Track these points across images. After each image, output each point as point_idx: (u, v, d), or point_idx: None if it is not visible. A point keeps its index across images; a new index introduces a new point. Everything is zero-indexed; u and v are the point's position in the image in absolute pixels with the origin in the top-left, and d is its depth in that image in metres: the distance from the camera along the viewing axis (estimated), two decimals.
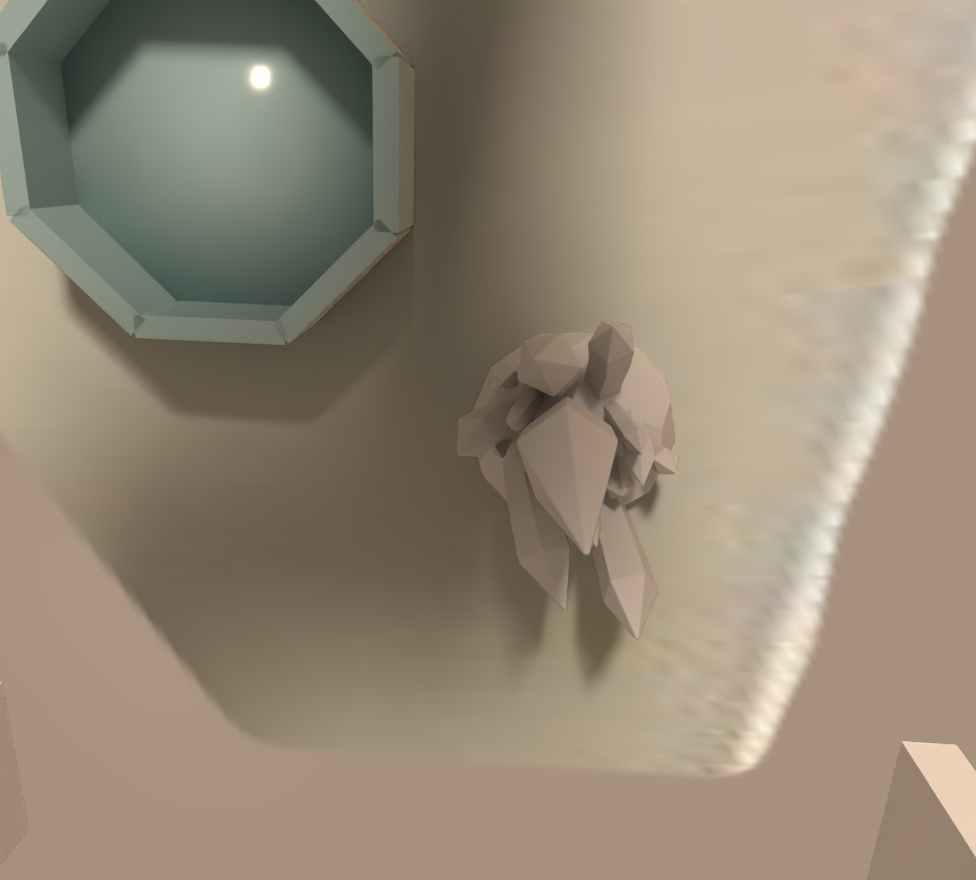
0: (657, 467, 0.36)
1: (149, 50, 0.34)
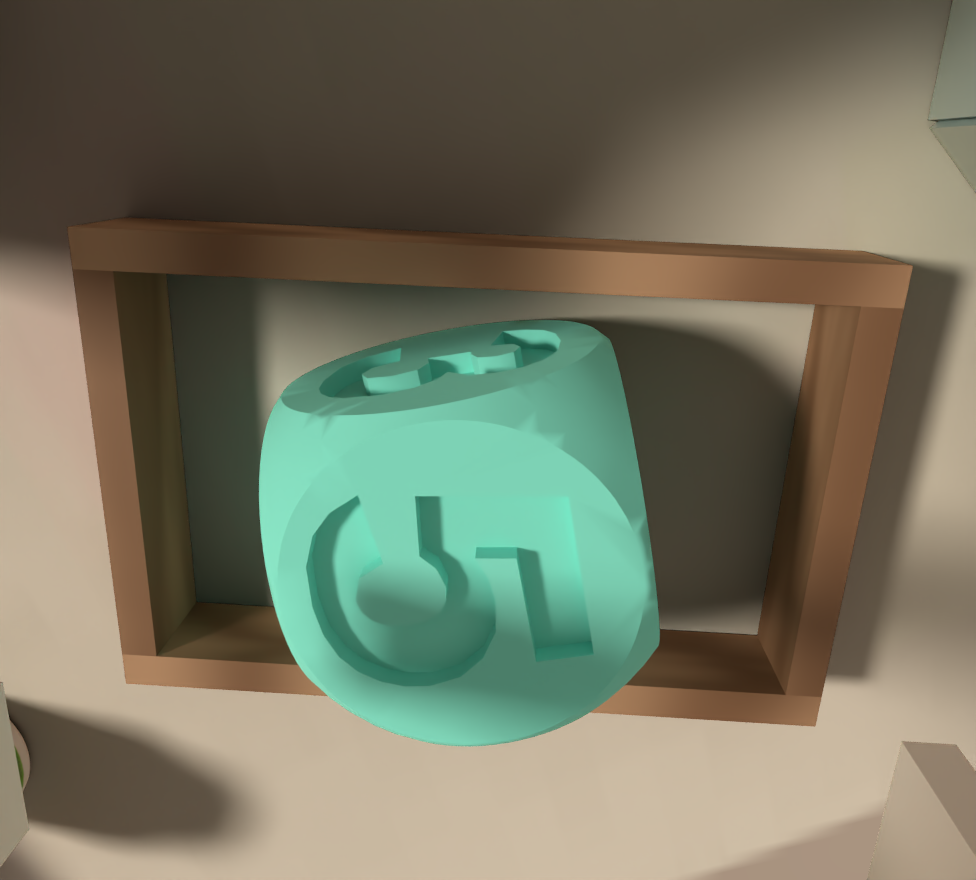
0: None
1: None
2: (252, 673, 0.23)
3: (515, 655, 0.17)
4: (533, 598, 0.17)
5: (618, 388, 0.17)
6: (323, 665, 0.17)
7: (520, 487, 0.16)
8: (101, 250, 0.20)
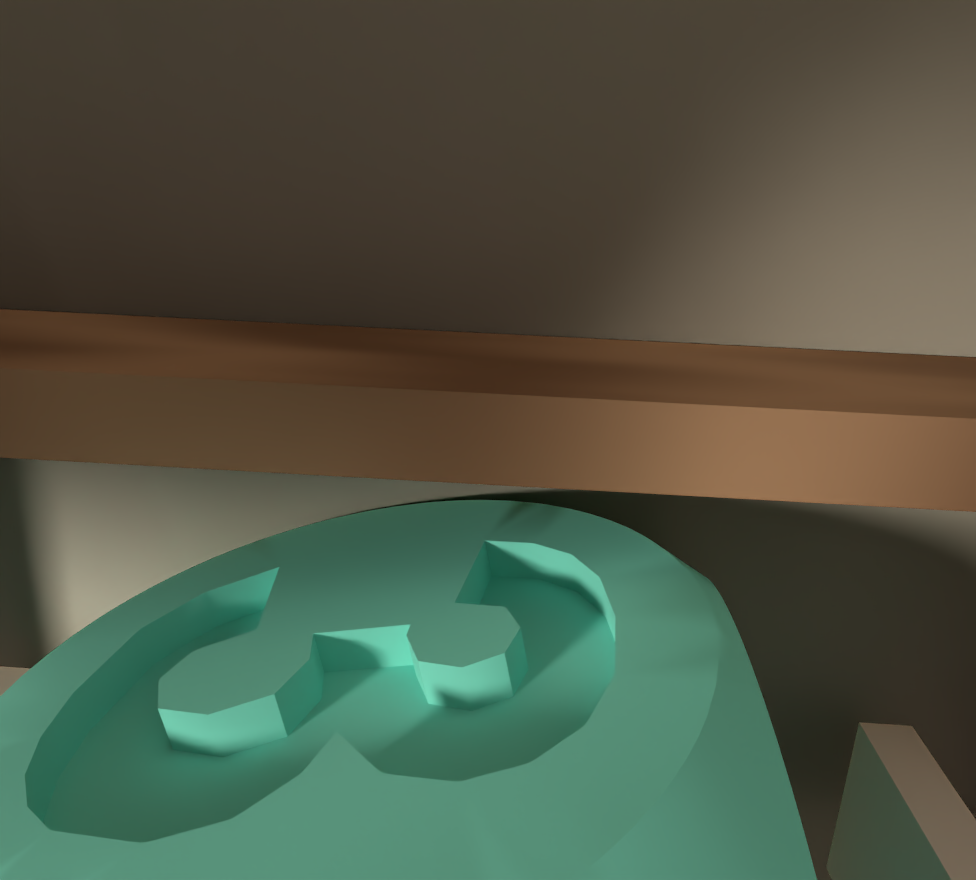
0: None
1: None
2: None
3: None
4: None
5: (791, 834, 0.06)
6: None
7: None
8: None
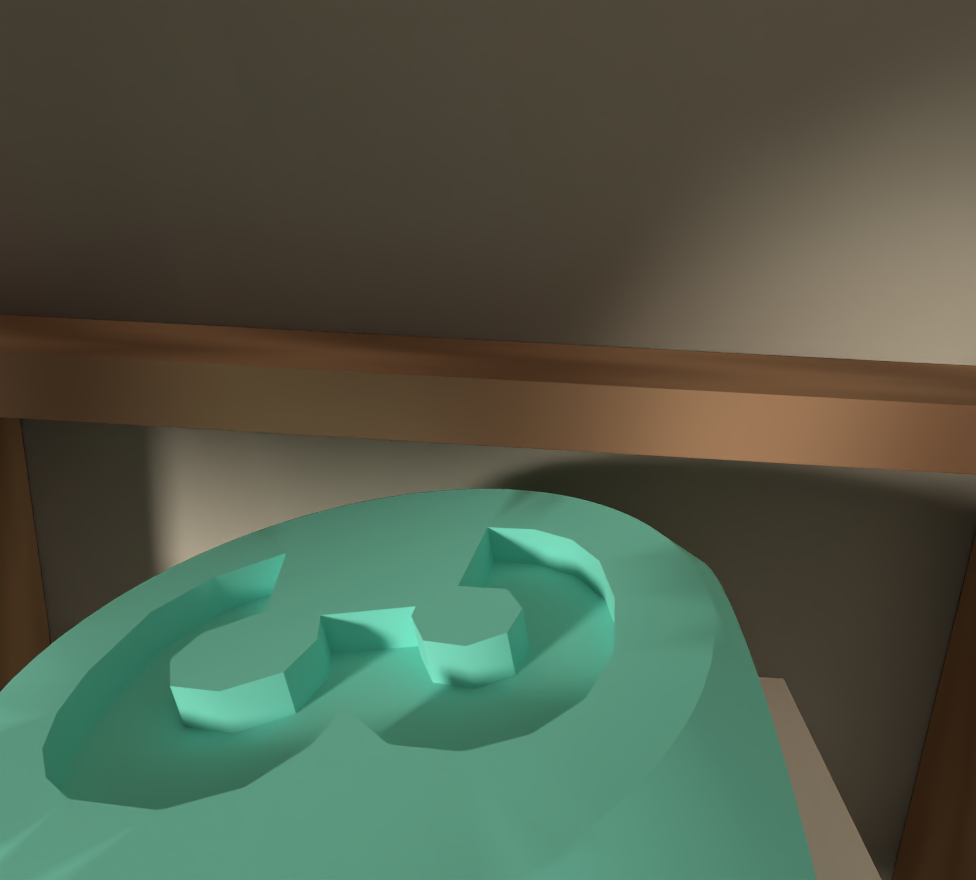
0: None
1: None
2: None
3: None
4: None
5: (784, 802, 0.06)
6: None
7: None
8: None
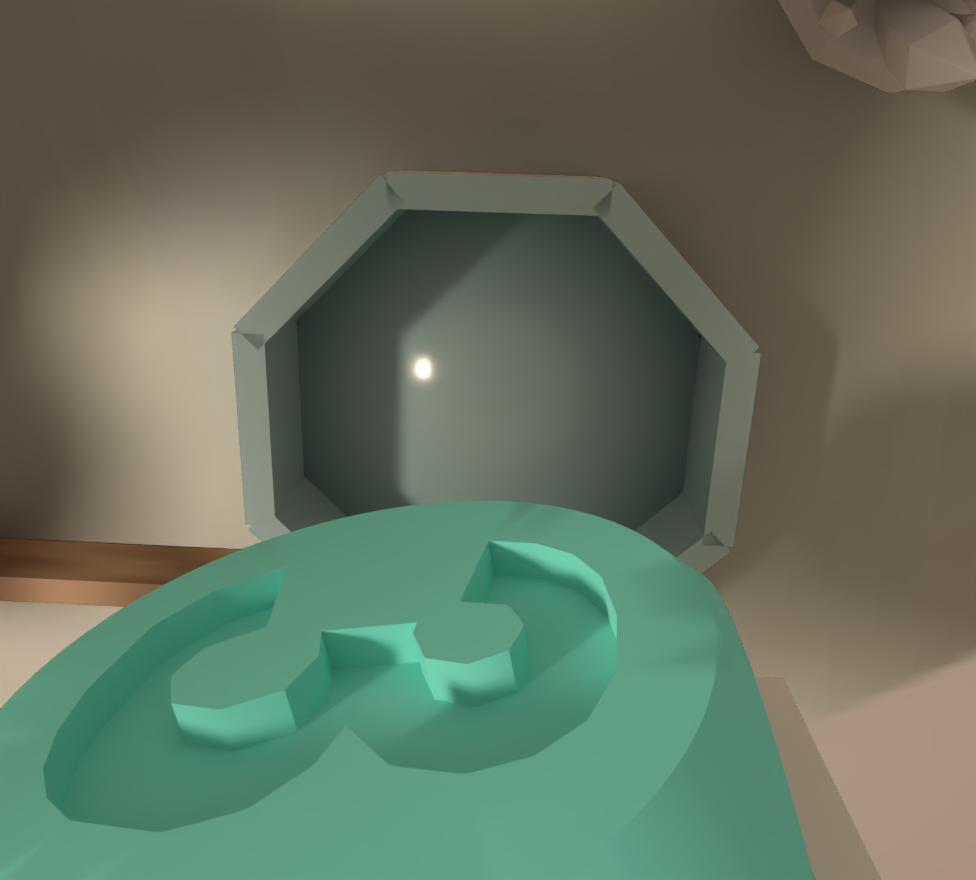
0: None
1: (397, 485, 0.30)
2: None
3: None
4: None
5: (787, 825, 0.06)
6: None
7: None
8: None
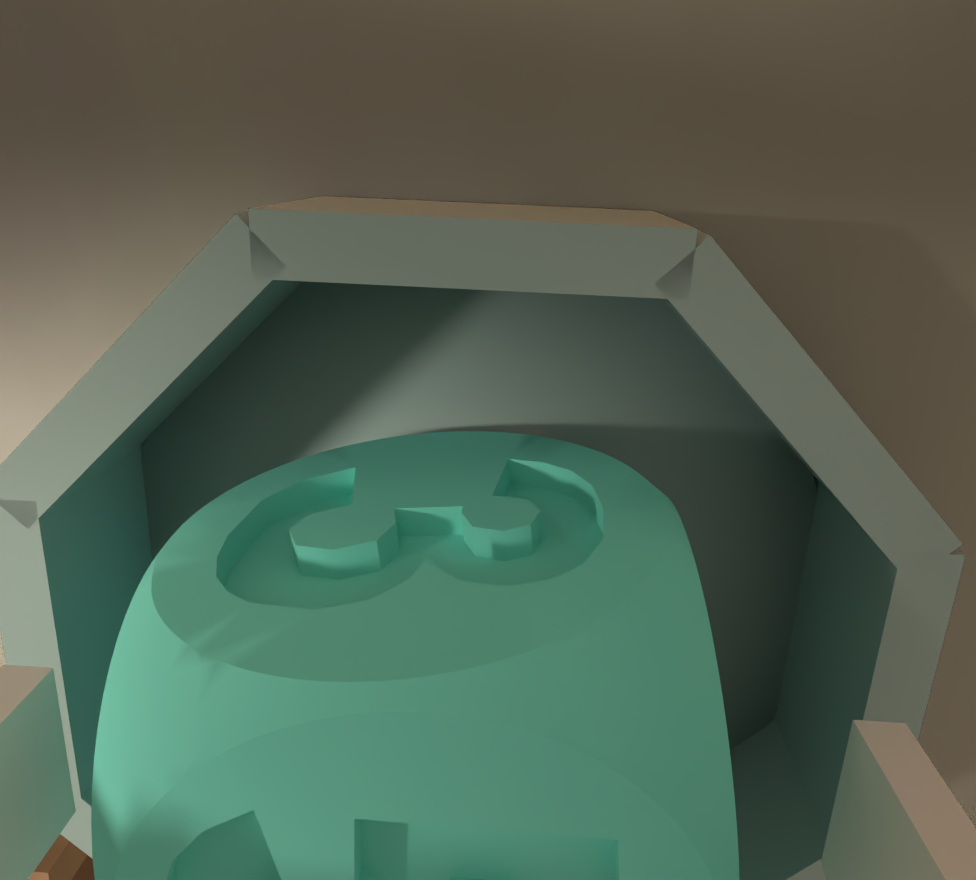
0: None
1: None
2: None
3: None
4: None
5: (703, 628, 0.10)
6: None
7: (538, 820, 0.09)
8: None
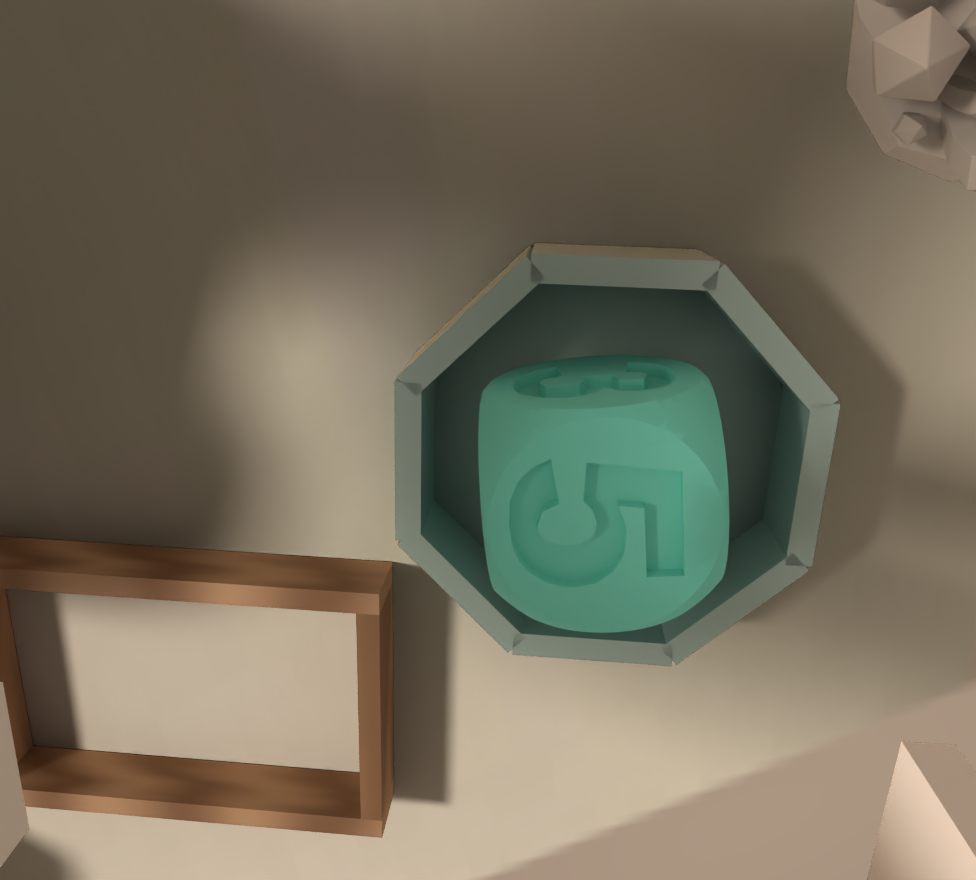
0: None
1: None
2: (51, 798, 0.39)
3: (634, 571, 0.27)
4: (648, 536, 0.27)
5: (715, 407, 0.27)
6: (508, 567, 0.27)
7: (653, 463, 0.26)
8: None
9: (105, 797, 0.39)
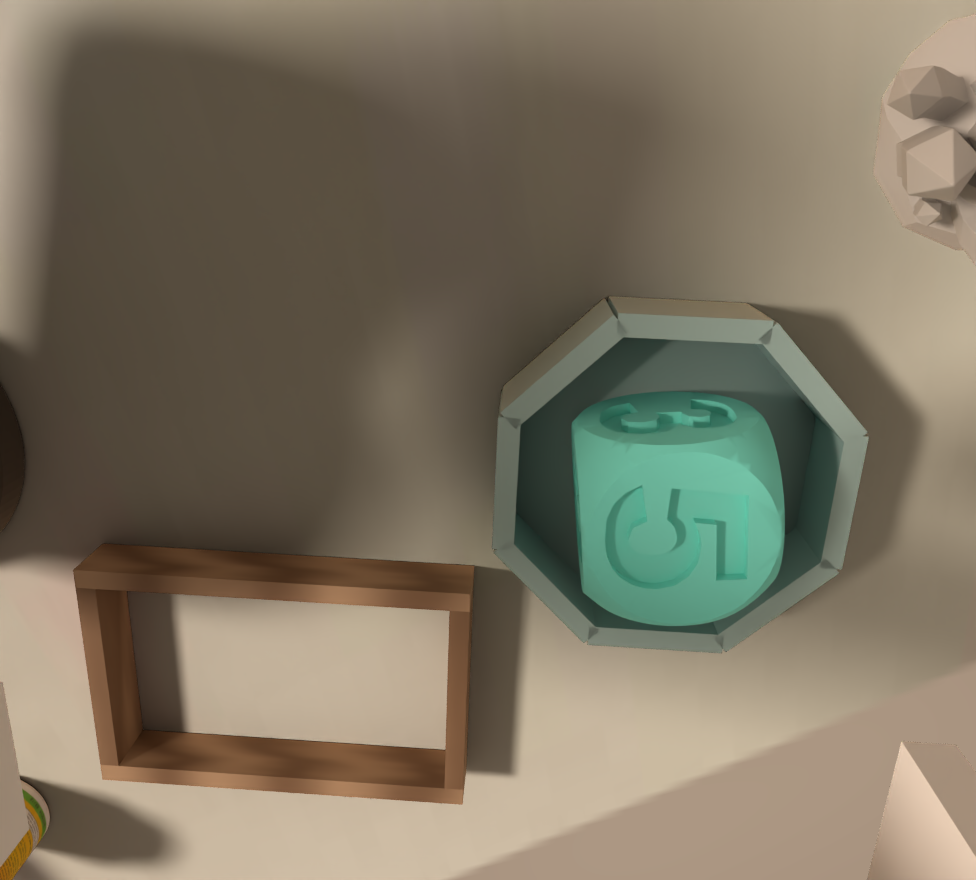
0: None
1: None
2: (168, 775, 0.45)
3: (706, 576, 0.33)
4: (717, 547, 0.33)
5: (772, 442, 0.33)
6: (602, 572, 0.33)
7: (725, 488, 0.32)
8: (89, 580, 0.41)
9: (217, 773, 0.44)
